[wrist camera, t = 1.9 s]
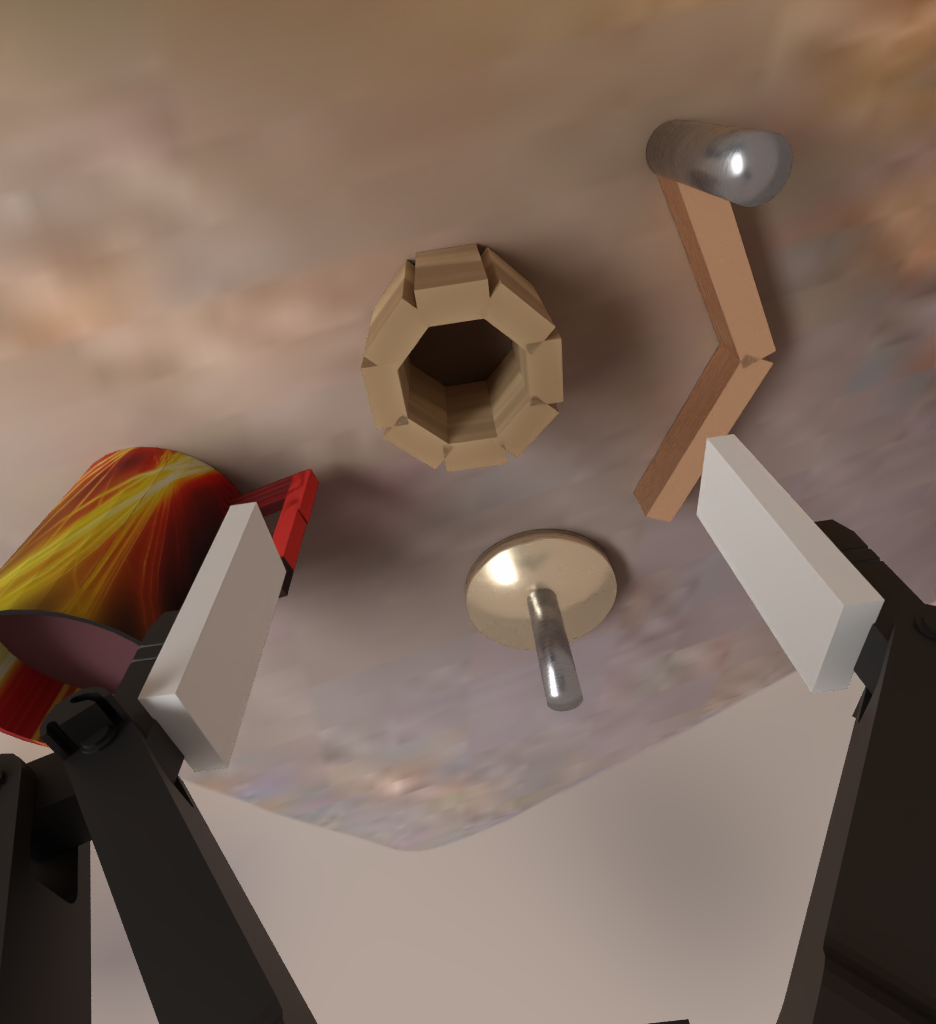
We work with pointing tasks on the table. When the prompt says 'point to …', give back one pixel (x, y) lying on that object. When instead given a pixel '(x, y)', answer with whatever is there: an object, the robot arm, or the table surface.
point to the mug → (118, 572)
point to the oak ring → (472, 406)
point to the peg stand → (543, 601)
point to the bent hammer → (713, 285)
